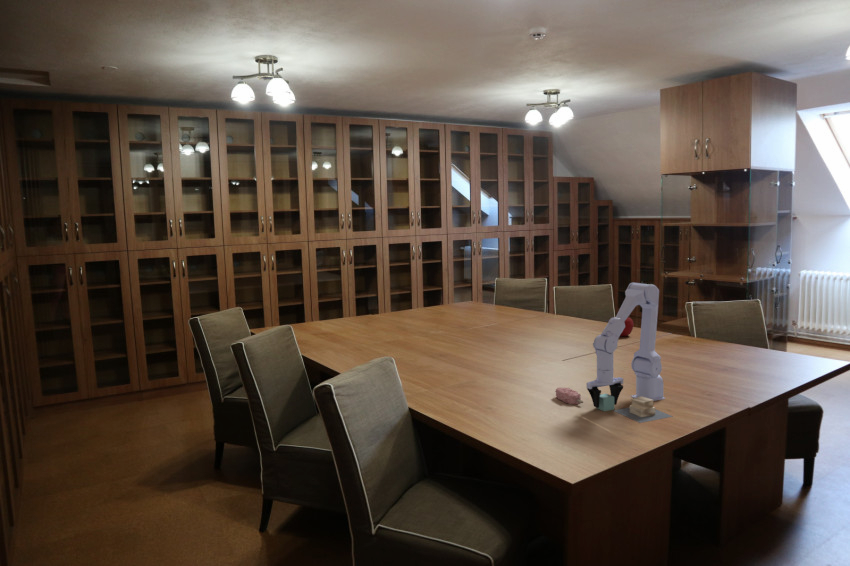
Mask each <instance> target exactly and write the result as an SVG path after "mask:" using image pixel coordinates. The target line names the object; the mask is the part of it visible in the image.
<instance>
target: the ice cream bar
mask: <svg viewBox="0 0 850 566" xmlns="http://www.w3.org/2000/svg"><path fill="white" fill-rule="evenodd" d="M555 396H556V398H557V399H558V400H559V401H561V402H564V403H565V404H569V405H579V404H583V403H584V401H583V400H581V399H582V396H581V393H579V392H578V391H576V390H574V389H571V388H570V387H557V388H556V389H555Z"/></svg>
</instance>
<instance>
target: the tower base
mask: <svg viewBox="0 0 850 566" xmlns="http://www.w3.org/2000/svg"><path fill="white" fill-rule="evenodd" d="M629 407H630V413H633V414H635V415H637V416H640V417H646V416H651V415H655V409H656V407H654V406H653V407H651V408H648V409H644V410H643V409H640V408H636V407H633V406H632V404H630V405H629Z"/></svg>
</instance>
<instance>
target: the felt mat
mask: <svg viewBox="0 0 850 566" xmlns="http://www.w3.org/2000/svg"><path fill="white" fill-rule="evenodd" d="M612 411H613V412H615V413H617V414H620V415H621V416H624V417H626V418H628V419H631V420H633V421H634V422H637V423H639V424H641V423H646V422H648V423H649V422H652V421H656V420H663V419H668V418H672V417H673V415H671V414H668V413H665V412H663V411H661V410H659V409H656V408H655V415H651V416H646V417H640V416H637V415H635V414H633V413H630V406H628V407H625V408H619V409H614V410H612Z"/></svg>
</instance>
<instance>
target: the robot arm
mask: <svg viewBox="0 0 850 566" xmlns="http://www.w3.org/2000/svg"><path fill="white" fill-rule="evenodd" d="M624 295H625V298H624V300H623V301H622V304H621V306H620V307H619V310H618V312H617V313H616V316H614V317H611V318H610V319H609V320H608V321H607V324H606V326H605V327H604V329H603V331H602V332H601V334H599V335H597V336H596V337H595V338H594V339H593V342H592V346H593V349H594V352H595V354H596V355H595V356H596V379H594V380H592V381H587V382H586V389H587V392H589V395H590V397H591V400H592V404H593V408H596V409H598V408H599V399H600V394H601V393H602V390H601V389H599V388H600V387H601V388H602V387H607V386H608V387H609V390H610V391H609V392H610V395H611V396H613V397H614V406H616V405H617V404H618V399H619V397H620V394H621V392H622V391H623V389H624V378H623V377H621V376H620V377H614V352H616V350H617V349H618V343H619V338H620V337H621V336H620V334H621V333H622V331H623V330H624V328H625V323H624V321H625V320H626V319H627V317H630V315H631V313H632V312H633V311H634V310H635V308H636V307H638V306H640V308H642V309H641V310H642V312H641V322H640V323H641V326H640V338H639V349H638V350H637V351H635V352H634V353H633V358H632V360H631V365H630V366H631V367H630V368H631V369H632V371H633V372H634V375H635V391H636V392H635V394H634V395H630V397H631V398H632V399H634V398H637V397H641V396H642V397H645V398H649V399H652V400H653V402H654V401H655V402H656V401H661V400H665V399H666V397H664V385H665V384H664V379H663V377H662V376H661V373H662V369H663V365H662V356H661V355H660V354H658V353H657V352H656V339H657V329H658V328H657V327H658V326H657V325H658V316H659V315H658V314H659V299H660V298H659V297H660V289H659V288H658V287H657V286H656V285H655V284H652V283H650V284H649V283H648V284H647V283H640V282H630V283H629V284H628V286H627V288H626V290H625V291H624Z"/></svg>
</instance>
